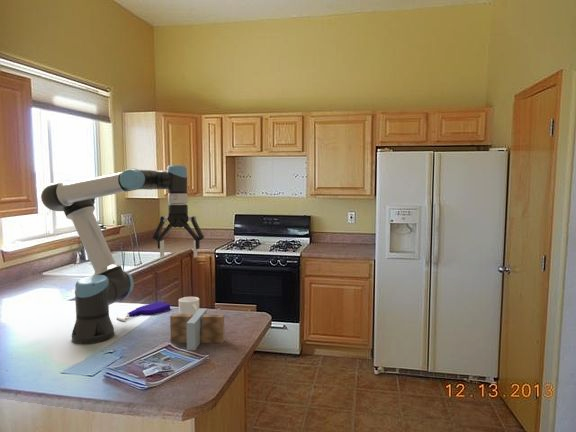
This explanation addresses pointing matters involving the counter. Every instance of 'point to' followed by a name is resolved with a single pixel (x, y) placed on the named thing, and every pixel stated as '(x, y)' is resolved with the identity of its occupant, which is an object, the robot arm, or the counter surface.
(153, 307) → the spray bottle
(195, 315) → the grey flat rectangular block
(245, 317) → the counter surface
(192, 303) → the mug
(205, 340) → the walnut board
